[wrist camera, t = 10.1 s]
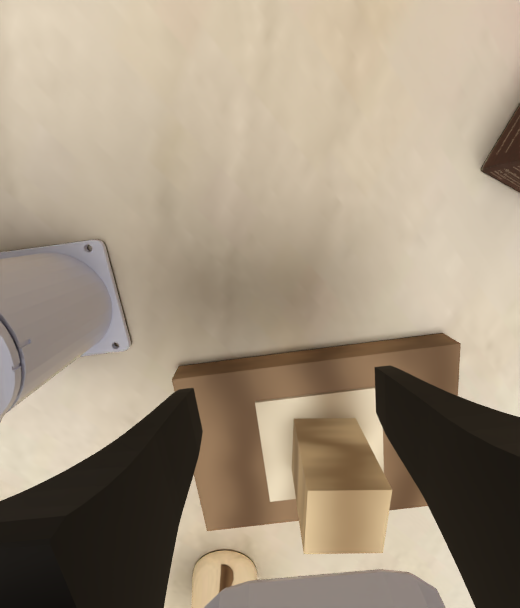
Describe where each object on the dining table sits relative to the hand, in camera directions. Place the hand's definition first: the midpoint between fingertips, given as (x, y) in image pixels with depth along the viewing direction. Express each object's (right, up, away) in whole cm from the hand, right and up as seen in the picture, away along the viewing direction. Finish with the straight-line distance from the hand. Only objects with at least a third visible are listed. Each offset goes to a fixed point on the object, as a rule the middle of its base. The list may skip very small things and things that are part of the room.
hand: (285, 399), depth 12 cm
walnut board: (+4, -6, +13) cm, 15 cm away
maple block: (+4, -7, +10) cm, 13 cm away
